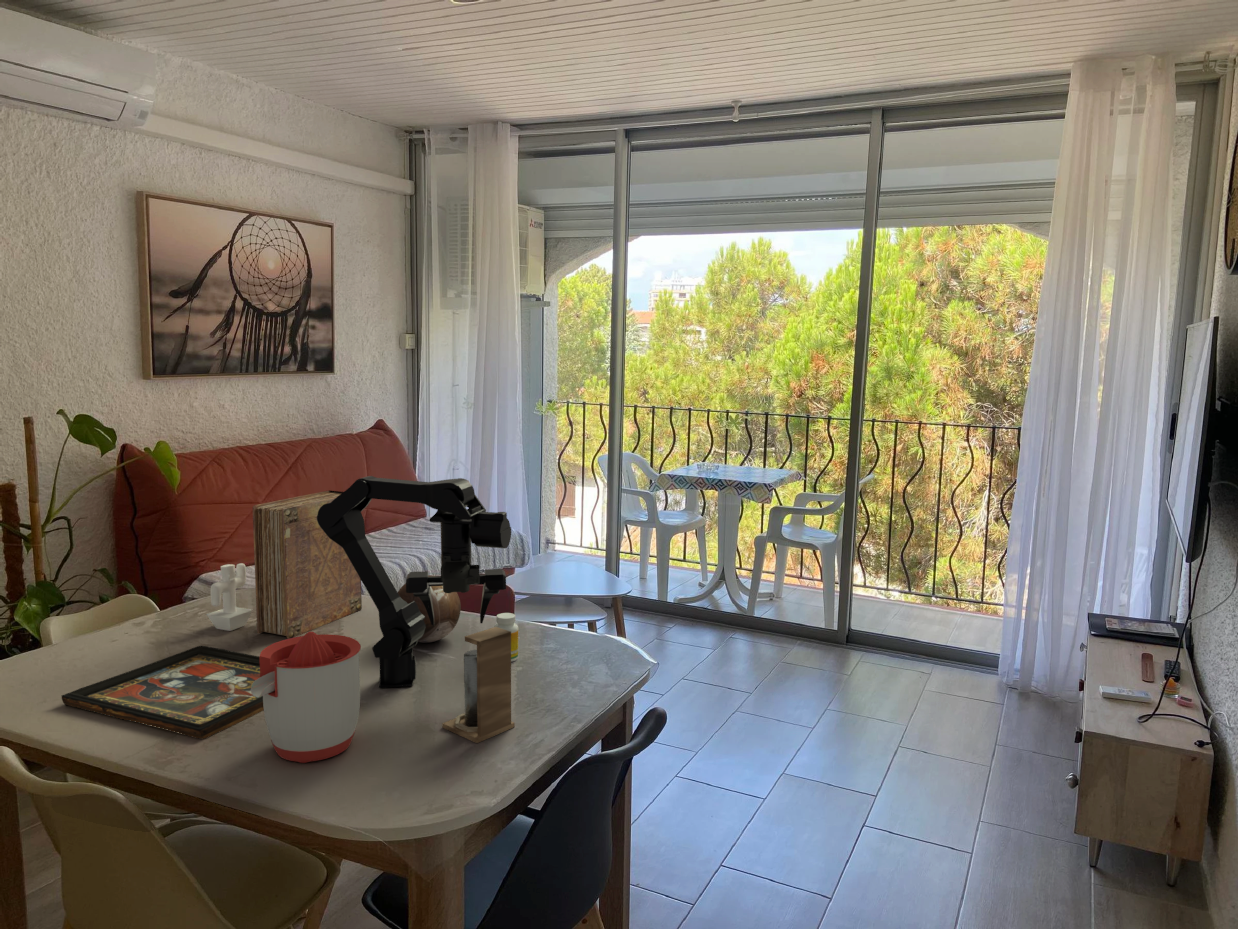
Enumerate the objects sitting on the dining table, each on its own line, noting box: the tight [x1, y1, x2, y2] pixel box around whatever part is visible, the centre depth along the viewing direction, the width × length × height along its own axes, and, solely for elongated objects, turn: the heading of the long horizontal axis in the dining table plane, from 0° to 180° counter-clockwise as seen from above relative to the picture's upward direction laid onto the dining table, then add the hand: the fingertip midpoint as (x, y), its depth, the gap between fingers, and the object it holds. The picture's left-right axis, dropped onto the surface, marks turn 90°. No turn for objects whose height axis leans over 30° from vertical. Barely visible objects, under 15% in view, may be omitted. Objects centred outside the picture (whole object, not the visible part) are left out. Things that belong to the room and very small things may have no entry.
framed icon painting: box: [61, 645, 264, 740], centre depth 167 cm, size 38×35×3 cm
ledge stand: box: [441, 626, 516, 744], centre depth 152 cm, size 9×9×18 cm
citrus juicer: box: [251, 630, 362, 764], centre depth 143 cm, size 16×17×20 cm
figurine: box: [205, 562, 254, 632], centre depth 204 cm, size 7×9×15 cm
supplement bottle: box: [493, 612, 519, 663], centre depth 186 cm, size 5×5×10 cm
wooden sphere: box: [397, 574, 462, 644], centre depth 197 cm, size 15×15×15 cm
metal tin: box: [463, 649, 478, 727], centre depth 152 cm, size 4×4×12 cm
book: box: [252, 490, 363, 639], centre depth 208 cm, size 25×9×30 cm, turn 157°
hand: (457, 623), depth 169 cm, fingers open, 9 cm apart
